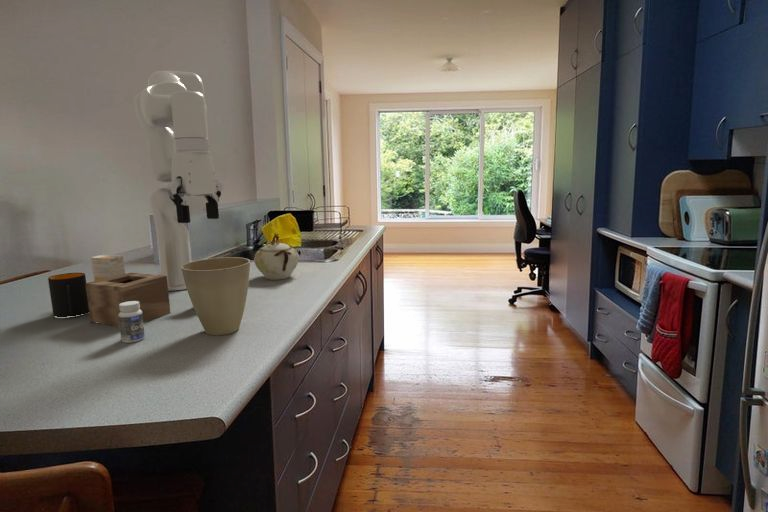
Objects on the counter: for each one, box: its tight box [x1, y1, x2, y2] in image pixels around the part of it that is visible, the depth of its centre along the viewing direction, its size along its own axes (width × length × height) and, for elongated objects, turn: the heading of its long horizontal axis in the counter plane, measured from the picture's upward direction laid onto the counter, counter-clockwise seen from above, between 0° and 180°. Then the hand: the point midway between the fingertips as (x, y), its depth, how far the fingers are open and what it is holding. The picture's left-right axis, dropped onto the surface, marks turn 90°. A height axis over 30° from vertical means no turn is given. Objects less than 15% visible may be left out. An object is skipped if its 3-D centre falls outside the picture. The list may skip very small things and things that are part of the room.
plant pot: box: [181, 256, 251, 336], centre depth 114 cm, size 15×15×16 cm
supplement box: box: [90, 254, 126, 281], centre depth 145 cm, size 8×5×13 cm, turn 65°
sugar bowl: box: [253, 233, 300, 281], centre depth 170 cm, size 20×15×15 cm
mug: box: [47, 272, 89, 317], centre depth 130 cm, size 8×12×10 cm
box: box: [85, 272, 171, 327], centre depth 127 cm, size 13×13×10 cm
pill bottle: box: [118, 301, 146, 344], centre depth 110 cm, size 5×5×8 cm
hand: (199, 220), depth 119 cm, fingers open, 9 cm apart
